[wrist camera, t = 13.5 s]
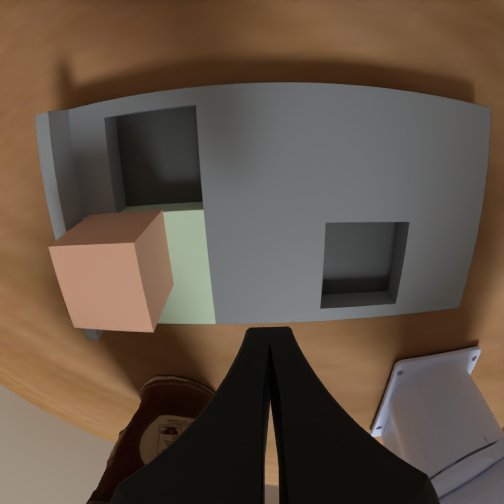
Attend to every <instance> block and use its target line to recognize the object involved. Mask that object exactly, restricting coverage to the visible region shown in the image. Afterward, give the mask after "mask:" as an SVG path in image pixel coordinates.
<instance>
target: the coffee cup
mask: <svg viewBox="0 0 504 504" xmlns="http://www.w3.org/2000/svg"><path fill="white" fill-rule="evenodd" d="M213 395H214V393H213V392H212V391H211V390H210V389H208V388H206V387H204V386H202V385H200V384H198V383H196V382H193V381H190V380H187V379H182V378H178V377H173V376H167V377H163V376H156V377H153V378H151V379H150V380H149V381H147V382H145V383H144V386H143V387H142V388H141V394H140V398H141V403H140V406H139V409H138V410H137V412H136V413H135V415H134V416H133V418H132V420H131V421H130V423H129V424H128V426H127V427H126V428H125V429H124V430H122V431H121V432H120V433H119V438H118V441H117V442H116V444H115V446H114V448H113V450H112V451H111V453H110V457H109V459H108V461H107V467H106V470H105V472H104V474H103V476H102V478H101V480H100V483H99V485H98V487H97V489H96V490H95V491H93V493H92V495H91V497H90V499H89V500H88V502H87V503H86V504H109V502H110V500H111V498H112V495H113V493H114V491H115V489H116V487H117V485H118V484H119V483H120V482H122V481H123V480H125V479H126V478H128V477H129V476H131V475H132V474H134V473H135V472H136V471H138V470H139V469H141V468H142V467H144V466H145V465H146V464H148V463H149V462H150V461H152V460H153V459H154V458H155V457H156V456H157V455H159V454H160V453H161V452H162V451H163V450H164V449H166V448H167V447H168V446H169V445H170V444H171V443H172V442H173V441H175V440H176V439H177V438H178V437H179V436H180V435H181V434H182V433H183V432H184V430H185V429H186V428H187V427H188V426H189V425H190V424H191V423H192V422H193V421H194V419H195V418H196V417H197V416H198V415H199V414H200V412H201V411H202V410H203V409H204V407H205V406H206V405H207V403H208V402H209V401H210V399H211V398H212V397H213Z"/></svg>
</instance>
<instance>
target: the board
mask: <svg viewBox="0 0 504 504" xmlns="http://www.w3.org/2000/svg"><path fill="white" fill-rule="evenodd" d="M490 120H491V108H489V107H485V106H481V105H477V104H473V103H469V102H464V101H460V100H455V99H450V98H445V97H440V96H435V95H429V94H423V93H417V92H410V91H403V90H396V89H388V88H379V87H370V86H359V85H346V84H329V83H299V82H272V83H241V84H224V85H211V86H200V87H190V88H181V89H173V90H166V91H158V92H152V93H145V94H139V95H133V96H128V97H122V98H117V99H112V100H107V101H103V102H98V103H94V104H89V105H85V106H81V107H77V108H73V109H69V110H58V111H48V112H45V113H41V114H38V115H35V121H36V132H37V141H38V150H39V157H40V165H41V171H42V177H43V183H44V189H45V195H46V200H47V205H48V210H49V215H50V219H51V224H52V228H53V232H54V236H55V240H57V239H59V238H60V237H61V236H62V235H64V234H65V233H66V232H68V231H69V230H70V229H72V228H73V227H74V226H76V225H77V224H78V223H80V222H81V221H82V220H84V219H85V218H86V217H88V216H89V215H94V214H106V213H119V212H132V211H147V210H162V209H163V214H164V222H165V229H166V236H167V243H168V250H169V257H170V263H171V269H172V276H173V282H174V286H173V288H172V290H171V292H170V295H169V297H168V299H167V302H166V304H165V306H164V309H163V311H162V313H161V316H160V318H159V321H158V323H164V324H251V323H284V322H307V321H325V320H341V319H356V318H368V317H380V316H391V315H402V314H411V313H421V312H430V311H438V310H446V309H454V308H459V306H460V302H461V299H462V296H463V292H464V289H465V285H466V282H467V278H468V274H469V270H470V266H471V262H472V258H473V254H474V249H475V244H476V240H477V235H478V230H479V224H480V219H481V213H482V207H483V200H484V193H485V186H486V177H487V168H488V157H489V143H490ZM83 330H84V333H85V336H86V338H87V339H89V340H99V339H100V337H101V336H102V334H103V332H104V331H105V330H100V329H86V328H83Z"/></svg>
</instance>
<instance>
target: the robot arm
mask: <svg viewBox="0 0 504 504" xmlns="http://www.w3.org/2000/svg"><path fill="white" fill-rule="evenodd" d="M480 353H481V349H480V348H479V347H478V346H476V347H471V348H466V349H461V350H457V351H451V352H446V353H441V354H435V355H429V356H423V357H417V358H411V359H404V360H400V361H398V362H397V363H396V364H395V365H394V368H393V371H392V374H391V378H390V381H389V383H388V386H387V389H386V392H385V395H384V398H383V401H382V403H381V406H380V409H379V411H378V414H377V417H376V419H375V422H374V424H373V427H372V429H371V432H370V433H371V435H370V434H369V433H368V432H366V431H365V430H364V429H363V428H362V427H361V426H360V425H358V424H357V423H356V422H355V421H354V420H353V419H352V418H351V417H350V416H349V415H348V414H347V413H346V411H345V410H344V409H343V408H342V407H341V406H340V405H339V404H338V403H337V401H336V400H335V399H334V398H333V397H332V395H331V394H330V393H329V392H328V390H327V389H326V388H325V386H324V385H323V384H322V382H321V381H320V380H319V378H318V377H317V375H316V374H315V372H314V371H313V369H312V368H311V366H310V365H309V363H308V362H307V360H306V358H305V357H304V355H303V353H302V351H301V349H300V347H299V346H298V344H297V342H296V339H295V337H294V335H293V332H292V329H291V328H289V327H257V328H249V329H247V330H246V333H245V337H244V340H243V342H242V345H241V347H240V350H239V352H238V354H237V356H236V358H235V360H234V362H233V364H232V366H231V368H230V369H229V371H228V373H227V375H226V377H225V378H224V380H223V381H222V383H221V384H220V386H219V388H218V389H217V391H216V392H215V394H214V395H213V397H212V398H211V399H210V401H209V402H208V403H207V405H206V406H205V407H204V409H203V410H202V411H201V412H200V414H199V415H198V416H197V417H196V418H195V419H194V421H193V422H192V423H191V424H190V425H189V426H188V427H187V428H186V429H185V430H184V432H183V433H182V434H181V435H180V436H179V437H178V438H177V439H176V440H175V441H173V442H172V443H171V444H170V445H169V446H168V447H167V448H166V449H164V450H163V451H162V452H161V453H160V454H159V455H157V456H156V457H155V458H154V459H153V460H152V461H150V462H149V463H148V464H146V465H145V466H144V467H142V468H141V469H139V470H138V471H136V472H135V473H134V474H132V475H131V476H129V477H128V478H126V479H125V480H123V481H122V482H120V483H119V484H118V485H117V487H116V489H115V491H114V493H113V495H112V498H111V500H110V502H109V504H265V452H266V442H267V431H268V420H269V409H270V401H271V409H272V416H273V424H274V431H275V439H276V446H277V454H278V465H279V504H504V434H503V432H502V430H501V428H500V426H499V424H498V422H497V421H496V419H495V417H494V415H493V413H492V412H491V410H490V408H489V406H488V404H487V403H486V401H485V399H484V398H483V396H482V394H481V392H480V391H479V389H478V387H477V386H476V384H475V382H474V381H473V379H472V377H471V376H470V374H471V372H472V370H473V368H474V366H475V364H476V361H477V359H478V357H479V355H480ZM372 436H373V437H376V436H382V439H383V443H384V446H385V447H384V446H383V445H382V444H380V443H379V442H378V441H377V440H376V439H375V438H373V437H372Z"/></svg>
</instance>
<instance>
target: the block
mask: <svg viewBox="0 0 504 504" xmlns="http://www.w3.org/2000/svg"><path fill="white" fill-rule="evenodd" d="M48 247H49V251H50V255H51V258H52V262H53V265H54V269H55V272H56V275H57V279H58V282H59V285H60V288H61V291H62V294H63V297H64V300H65V303H66V306H67V309H68V312H69V314H70V317H71V320H72V323H73V325H74V328H86V329H100V330H116V331H134V332H154V330H155V328H156V325H157V323H158V321H159V318H160V316H161V313H162V311H163V309H164V306H165V304H166V302H167V299H168V297H169V295H170V292H171V290H172V288H173V286H174V282H173V276H172V269H171V263H170V257H169V250H168V243H167V236H166V229H165V222H164V214H163V209H162V210H147V211H132V212H119V213H106V214H94V215H89V216H88V217H86V218H85V219H84V220H82V221H81V222H80V223H78V224H77V225H76V226H74V227H73V228H72V229H70V230H69V231H68V232H66V233H65V234H64V235H62V236H61V237H60V238H59V239H57V240H56V241H55V242H54V243H52V244H51V245H50V246H48Z"/></svg>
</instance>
